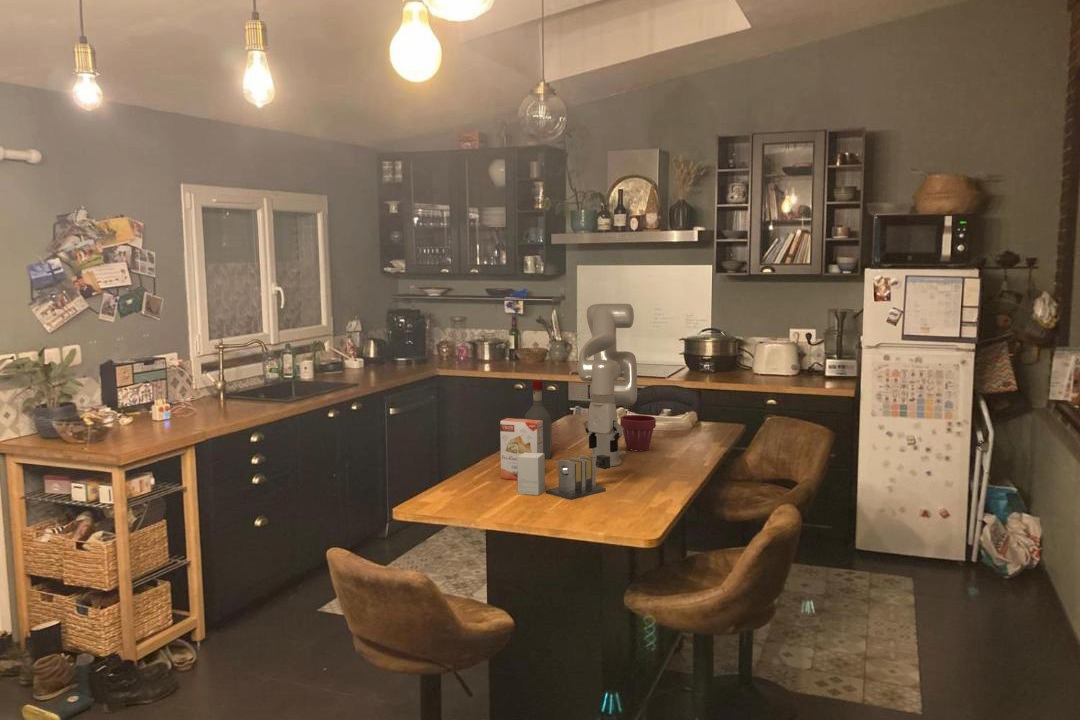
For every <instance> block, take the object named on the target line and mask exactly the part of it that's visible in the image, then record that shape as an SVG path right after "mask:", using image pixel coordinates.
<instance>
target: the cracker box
mask: <svg viewBox="0 0 1080 720" xmlns="http://www.w3.org/2000/svg"><path fill="white" fill-rule="evenodd" d="M499 425H500V429H499V431H500V432H499V433H500V435H499V436H500V480H501V479H504V480H514V481H518V469H517V457H518V456H519V455H521V454H523V453H524V452H527V453H543V421H542V420H527V419H524V418H512V417H511V418H510V417H505V418H504V419H501V420H500V424H499Z"/></svg>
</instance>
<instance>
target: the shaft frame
mask: <svg viewBox="0 0 1080 720" xmlns="http://www.w3.org/2000/svg"><path fill="white" fill-rule="evenodd" d="M579 458H583V459H579ZM584 459H587V460H591V479H585V460H584ZM567 460H571V461H567ZM572 461H576V462H580V463H581V481H578V482H575V462H572ZM557 464H558V467H557V468H558V487H554V488H553V487H552V488H549V489H545V491H544V492H545V494H547V495H550V496H555V497H558V498H563V499H566V500H571V501H572V500H578V499H580V498H584V497H588V496H591V495H596V494H601V493H603V492H606V491H607V488H606V487H605V486H599V485H597V484H596V483H597V481H596V479H597V478H596V471H597V467H596V458H595V457H592V456H588V455H586V454H585V455H584V454H580V455H578V457H574V456H572V457H568V459H562V458H561V459H558V462H557ZM565 467H568V474H561V472H560V469H561V468H565Z"/></svg>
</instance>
